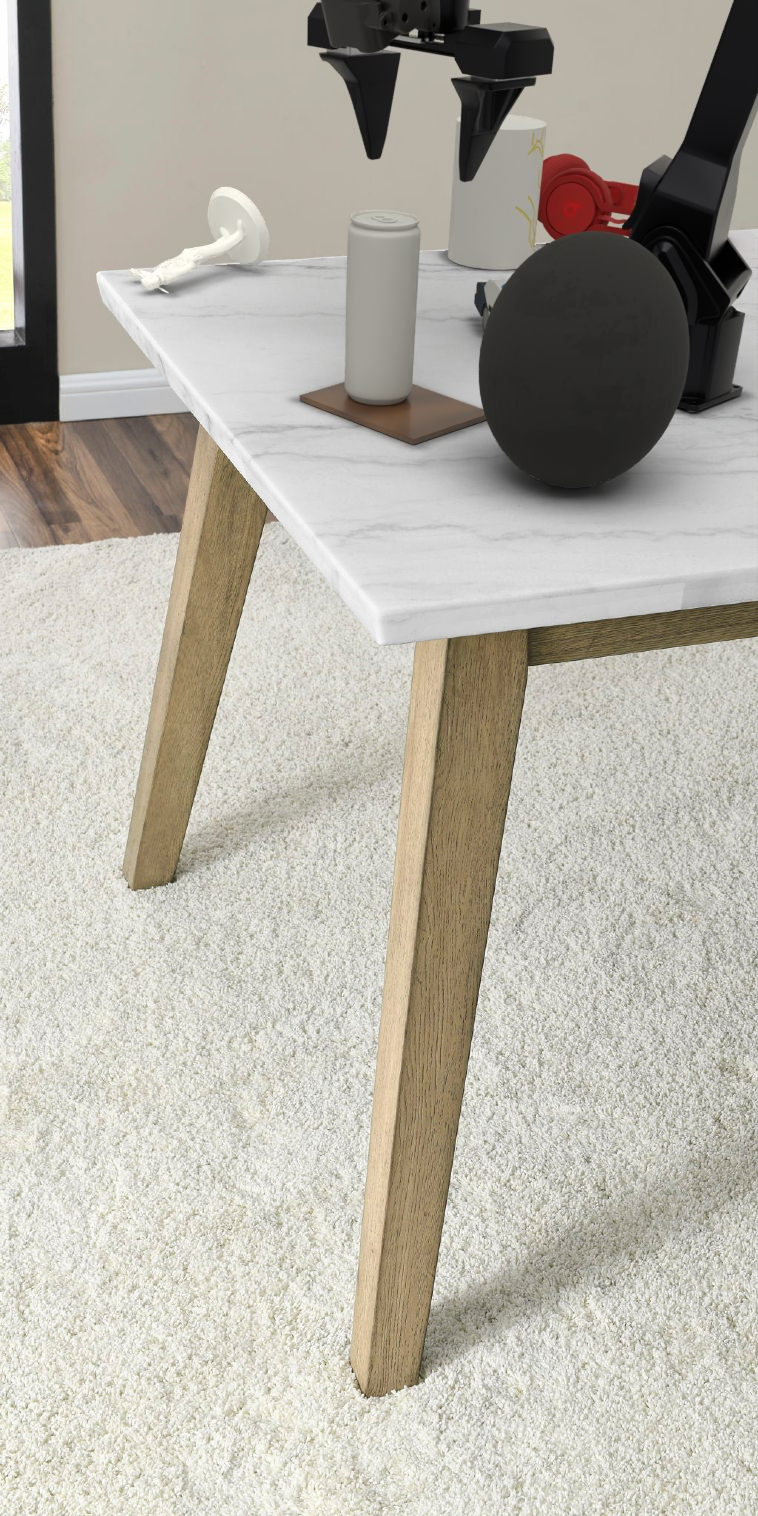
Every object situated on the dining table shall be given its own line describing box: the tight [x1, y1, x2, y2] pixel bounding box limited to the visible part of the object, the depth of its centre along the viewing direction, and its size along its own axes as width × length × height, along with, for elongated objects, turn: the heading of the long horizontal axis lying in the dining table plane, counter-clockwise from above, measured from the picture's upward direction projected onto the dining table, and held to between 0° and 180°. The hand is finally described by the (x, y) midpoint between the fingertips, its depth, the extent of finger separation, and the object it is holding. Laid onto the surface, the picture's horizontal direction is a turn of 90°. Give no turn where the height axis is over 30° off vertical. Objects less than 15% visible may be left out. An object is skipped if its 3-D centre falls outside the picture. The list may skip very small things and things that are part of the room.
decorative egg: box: [478, 231, 689, 489], centre depth 84 cm, size 12×12×15 cm
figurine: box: [129, 186, 271, 294], centre depth 121 cm, size 7×7×12 cm
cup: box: [447, 113, 548, 271], centre depth 130 cm, size 8×8×12 cm
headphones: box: [537, 153, 639, 241], centre depth 141 cm, size 15×7×20 cm
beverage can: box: [344, 209, 422, 406], centre depth 95 cm, size 5×5×12 cm
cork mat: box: [299, 381, 487, 446], centre depth 98 cm, size 11×8×1 cm
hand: (419, 169), depth 103 cm, fingers open, 9 cm apart
